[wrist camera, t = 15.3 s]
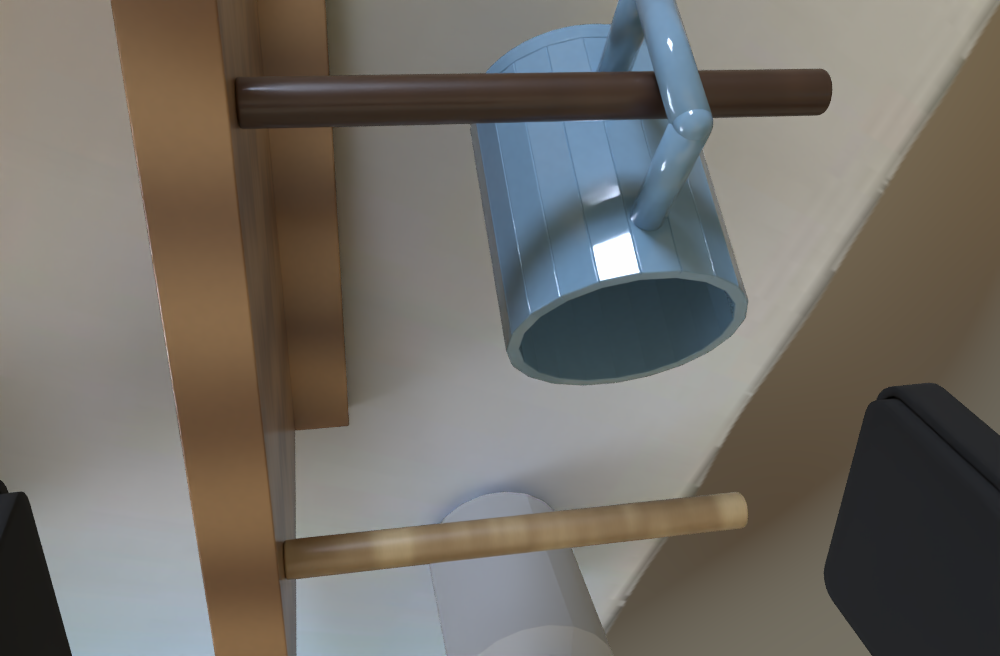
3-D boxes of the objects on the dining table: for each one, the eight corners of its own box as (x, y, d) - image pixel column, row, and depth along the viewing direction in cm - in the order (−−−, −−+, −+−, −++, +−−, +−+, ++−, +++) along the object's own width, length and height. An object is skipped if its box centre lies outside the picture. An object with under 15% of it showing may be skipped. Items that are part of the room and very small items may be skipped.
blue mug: (644, 164, 35) (700, 376, 31) (458, 170, 34) (492, 393, 30) (758, -97, 25) (863, 166, 21) (502, -103, 24) (562, 177, 20)
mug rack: (113, -151, 32) (-62, -139, 16) (641, -135, 36) (923, -112, 20) (198, 421, 43) (142, 762, 27) (594, 389, 47) (749, 673, 31)
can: (404, 575, 50) (434, 766, 40) (458, 467, 48) (505, 642, 37) (525, 599, 53) (582, 784, 43) (582, 498, 50) (658, 670, 40)
